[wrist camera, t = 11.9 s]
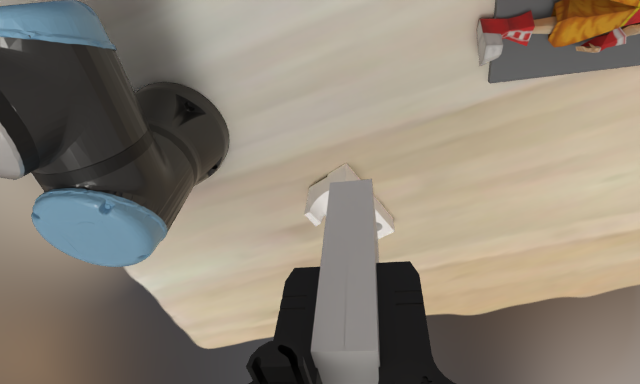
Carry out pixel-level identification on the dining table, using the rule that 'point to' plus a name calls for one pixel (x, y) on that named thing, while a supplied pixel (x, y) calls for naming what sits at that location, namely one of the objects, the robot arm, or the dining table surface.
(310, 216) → the bracket
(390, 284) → the robot arm
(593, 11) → the toy
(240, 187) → the dining table surface
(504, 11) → the mat
